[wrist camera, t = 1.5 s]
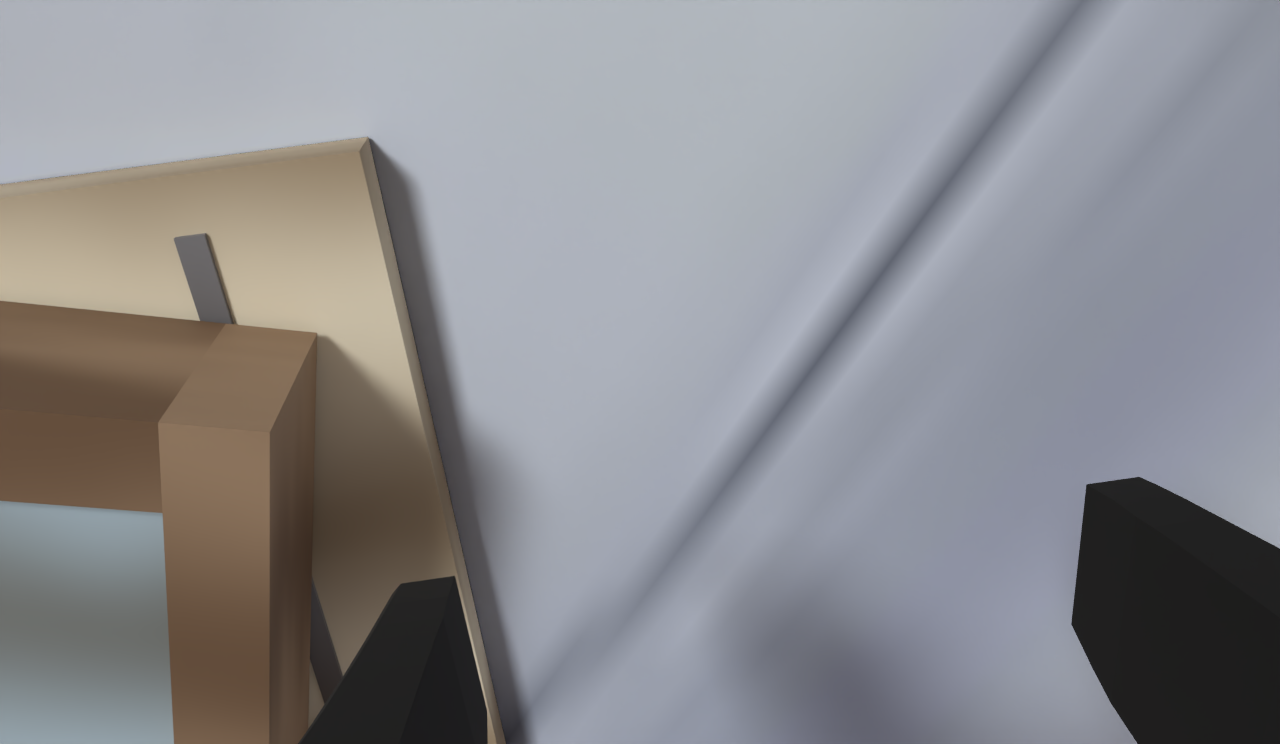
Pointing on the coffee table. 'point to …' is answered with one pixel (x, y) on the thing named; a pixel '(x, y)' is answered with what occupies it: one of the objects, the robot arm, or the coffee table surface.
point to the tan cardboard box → (154, 529)
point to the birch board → (282, 299)
